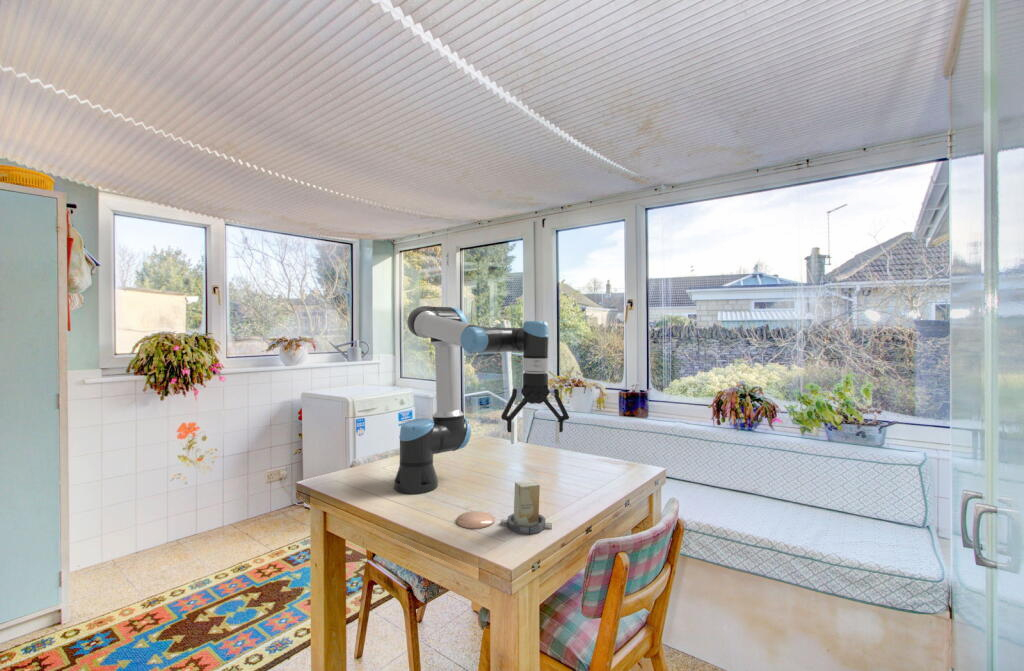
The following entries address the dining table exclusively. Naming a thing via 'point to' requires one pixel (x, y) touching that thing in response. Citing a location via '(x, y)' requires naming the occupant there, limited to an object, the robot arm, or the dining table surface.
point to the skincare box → (526, 503)
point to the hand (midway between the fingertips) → (534, 443)
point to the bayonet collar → (526, 529)
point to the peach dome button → (475, 520)
